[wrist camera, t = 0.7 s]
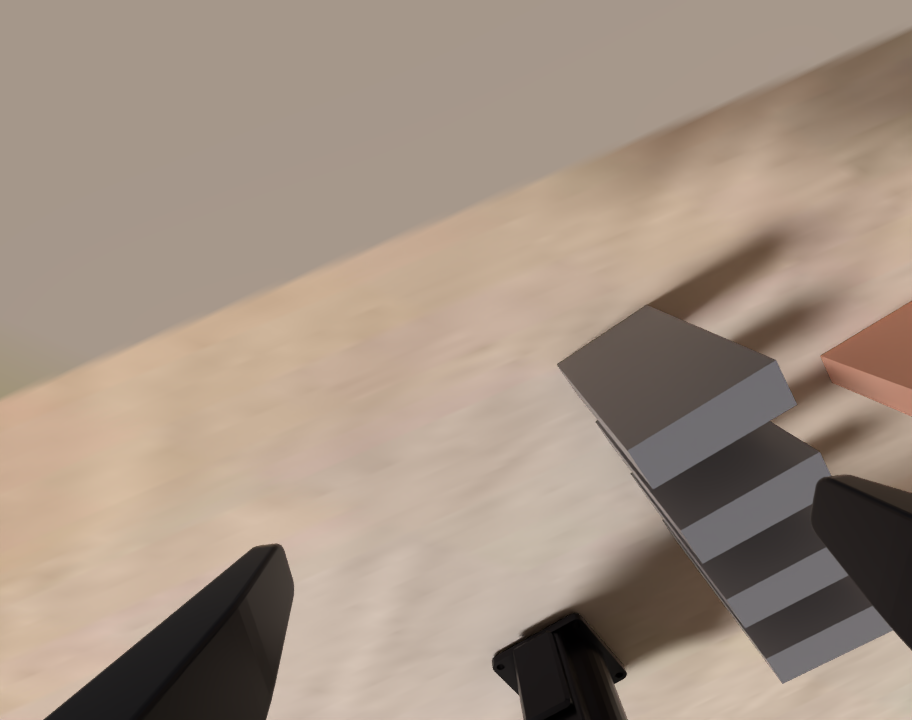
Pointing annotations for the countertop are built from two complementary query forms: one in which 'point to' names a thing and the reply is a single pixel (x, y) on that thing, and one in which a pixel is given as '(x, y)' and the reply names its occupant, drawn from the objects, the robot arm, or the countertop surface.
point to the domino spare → (877, 361)
